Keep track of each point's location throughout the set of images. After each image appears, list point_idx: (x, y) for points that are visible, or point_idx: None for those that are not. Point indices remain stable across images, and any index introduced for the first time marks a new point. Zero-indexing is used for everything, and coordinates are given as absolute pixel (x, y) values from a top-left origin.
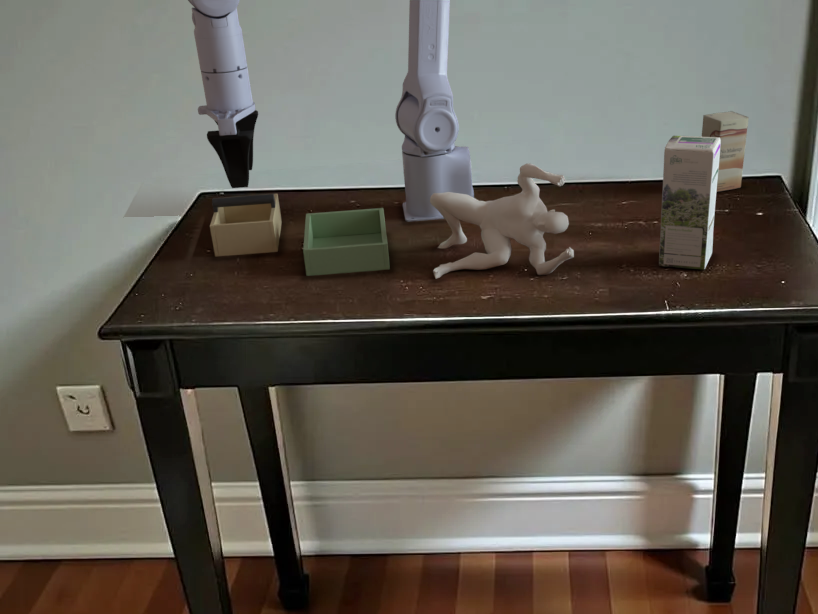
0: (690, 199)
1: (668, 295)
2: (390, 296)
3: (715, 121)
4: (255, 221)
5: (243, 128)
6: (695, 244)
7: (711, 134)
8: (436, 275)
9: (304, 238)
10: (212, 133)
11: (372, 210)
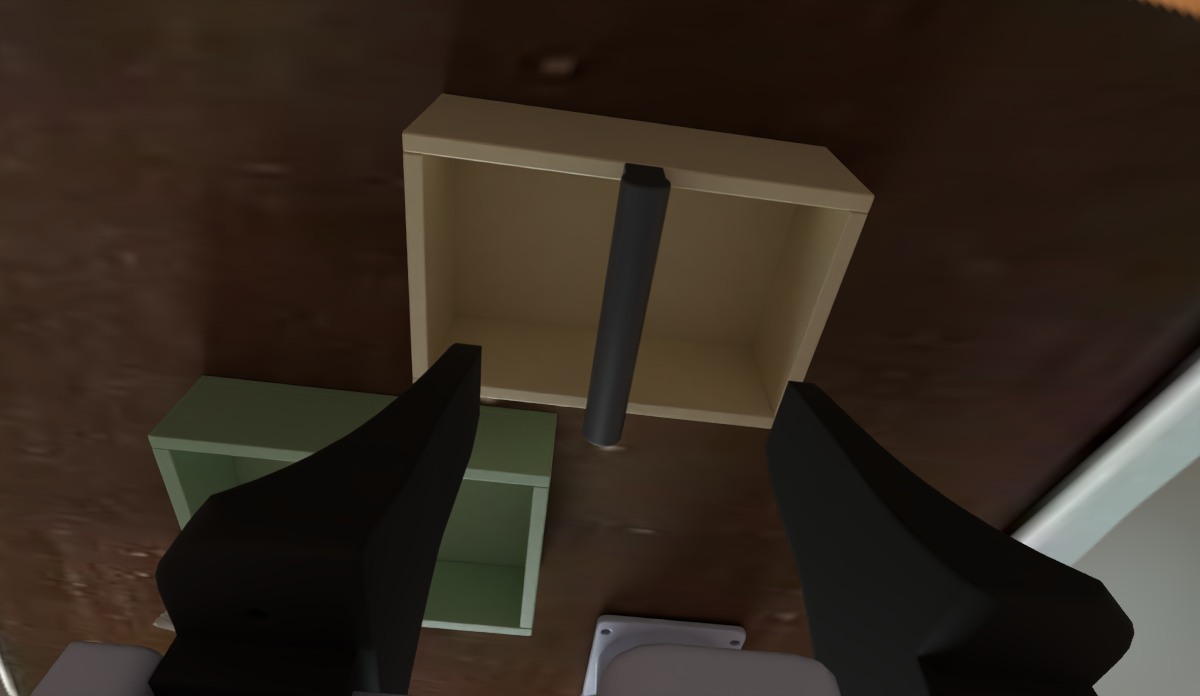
0: None
1: None
2: (80, 522)
3: None
4: (423, 331)
5: (843, 648)
6: None
7: None
8: (167, 615)
9: (272, 449)
10: (244, 586)
11: (521, 615)
